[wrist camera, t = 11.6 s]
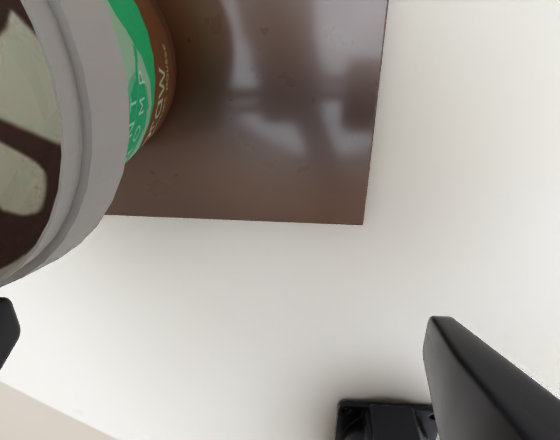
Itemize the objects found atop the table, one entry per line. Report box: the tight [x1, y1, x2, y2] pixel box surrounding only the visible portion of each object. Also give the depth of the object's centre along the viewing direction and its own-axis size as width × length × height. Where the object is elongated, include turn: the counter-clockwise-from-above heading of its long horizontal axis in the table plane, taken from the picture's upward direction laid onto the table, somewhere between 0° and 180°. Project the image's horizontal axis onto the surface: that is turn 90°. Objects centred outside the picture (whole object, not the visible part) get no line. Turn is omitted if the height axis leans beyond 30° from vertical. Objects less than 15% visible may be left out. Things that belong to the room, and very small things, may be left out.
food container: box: [0, 0, 176, 287], centre depth 13 cm, size 12×6×10 cm, turn 165°
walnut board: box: [104, 0, 389, 225], centre depth 18 cm, size 14×22×1 cm, turn 89°
